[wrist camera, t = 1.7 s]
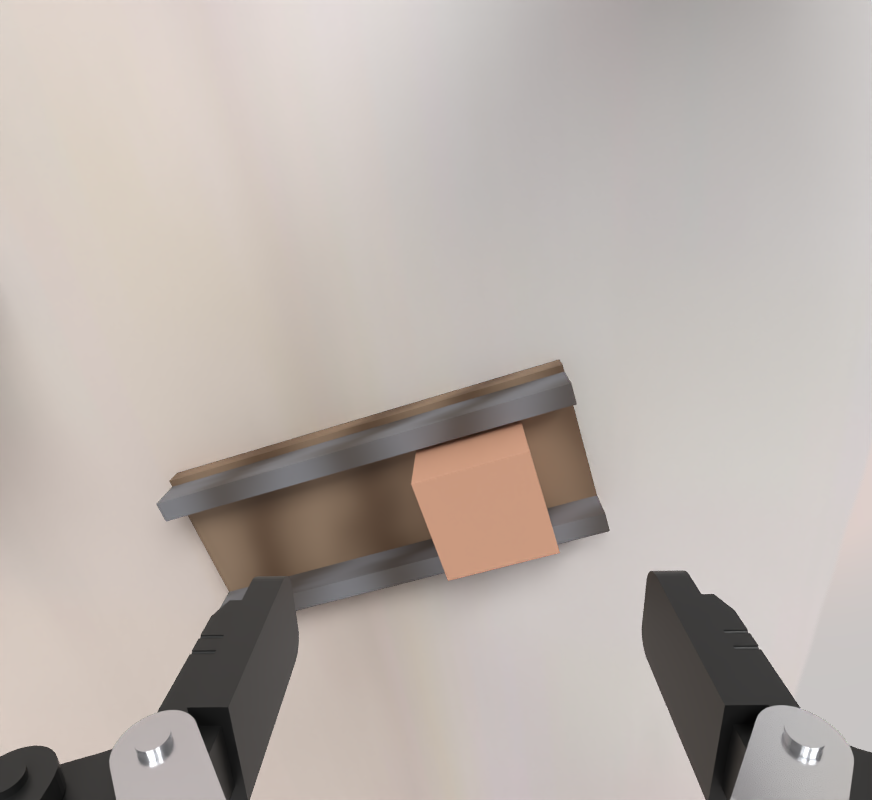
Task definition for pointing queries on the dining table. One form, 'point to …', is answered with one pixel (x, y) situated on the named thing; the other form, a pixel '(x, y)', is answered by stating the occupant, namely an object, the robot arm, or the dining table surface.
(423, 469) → the block
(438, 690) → the dining table surface
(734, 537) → the dining table surface
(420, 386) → the dining table surface
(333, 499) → the chute
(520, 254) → the dining table surface
